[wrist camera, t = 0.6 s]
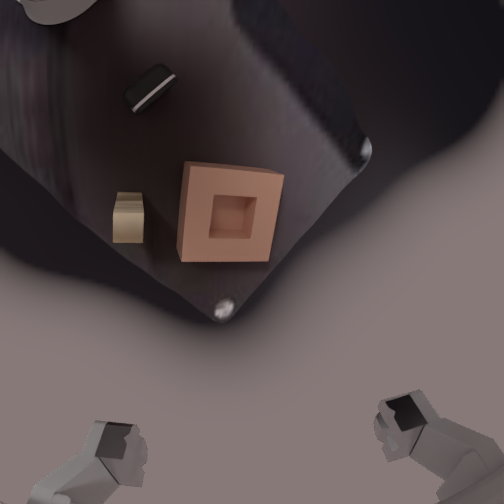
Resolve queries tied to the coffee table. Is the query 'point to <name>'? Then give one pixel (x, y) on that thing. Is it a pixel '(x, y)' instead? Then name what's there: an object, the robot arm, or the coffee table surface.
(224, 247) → the terracotta socket block
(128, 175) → the coffee table surface
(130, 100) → the battery charger
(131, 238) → the maple pin
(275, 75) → the coffee table surface
